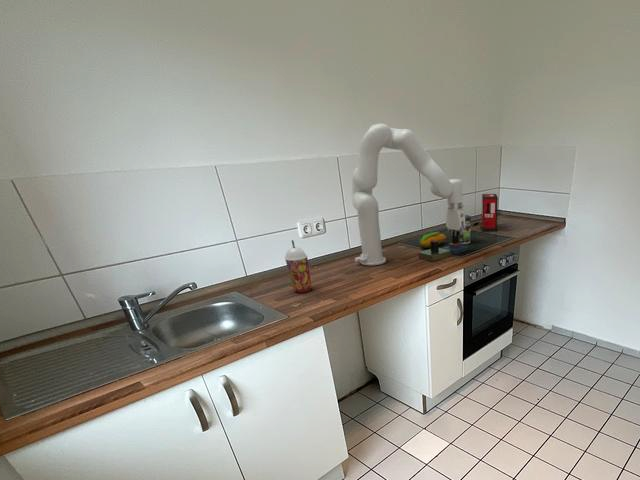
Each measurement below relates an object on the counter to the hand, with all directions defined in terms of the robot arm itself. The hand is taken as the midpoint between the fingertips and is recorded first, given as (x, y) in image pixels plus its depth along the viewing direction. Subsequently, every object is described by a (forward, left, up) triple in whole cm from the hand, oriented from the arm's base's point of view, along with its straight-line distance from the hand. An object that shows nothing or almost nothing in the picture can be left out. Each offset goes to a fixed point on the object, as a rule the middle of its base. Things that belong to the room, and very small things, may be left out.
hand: (455, 243), depth 202 cm
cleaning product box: (+55, +22, -5) cm, 59 cm away
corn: (0, +17, -4) cm, 18 cm away
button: (0, 0, -2) cm, 2 cm away
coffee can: (+17, +11, -4) cm, 21 cm away
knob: (-15, 0, -1) cm, 15 cm away
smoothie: (-84, +6, -4) cm, 85 cm away
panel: (-15, 0, -4) cm, 16 cm away
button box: (0, 0, -4) cm, 4 cm away
